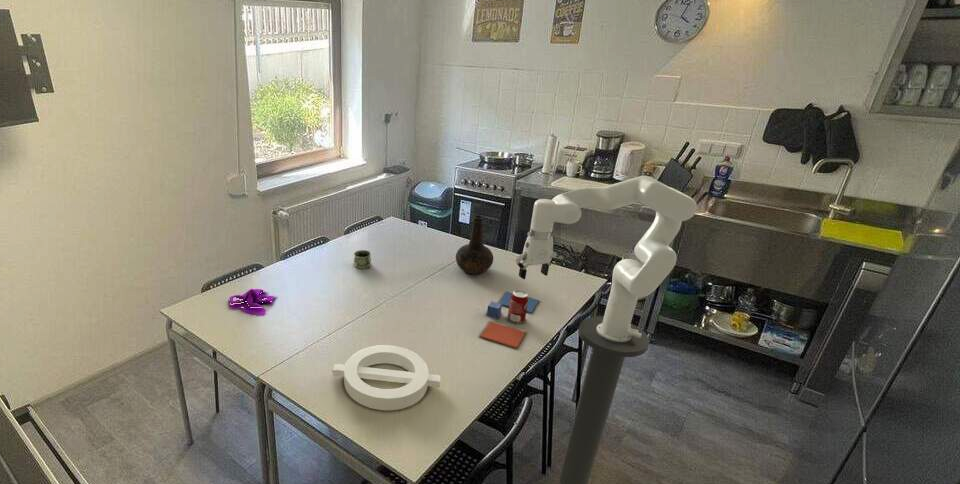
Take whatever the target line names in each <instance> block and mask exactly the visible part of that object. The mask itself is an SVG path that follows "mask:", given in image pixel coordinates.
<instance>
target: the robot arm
mask: <svg viewBox="0 0 960 484" xmlns="http://www.w3.org/2000/svg"><path fill="white" fill-rule="evenodd" d="M636 203H640V204H642V205H644V206H645V207H647V208H649V209H651V210H652V211H654V212H655V217H654V220H653V222H652V223H651V225H650V226H649V228H648V229H647V230H646V231H645V233H644V234H643V236H641V238H640V239H639V241H638V242H637V243H636V244H635V247H634V249H633V252H634V255H635V256H636V258H637V259H639V260H640V261H641V262H642V263H643V265H642V264H641V263H640V262H638V261H637V260H635V259H632V258H624V259H621V260H620V261H618V262H617V263H616V264H615V265H614V267H613V270H612V276H611V277H612V279H611V287H610V291H609V292H610V293H609V296H608V299H607V304H606V307H605V311H604V315H603V317H604V318H603V322H602V323H601V324H599V325H598V326H597V328H596V331H597V333H598V334H599V335H600V336H602V337H603V338H605V339H607V340H610V341H614V342H627V341H629V340H630V339H631V337H632V336H634V337H637V338H641V335H642V334H641V333H638V331H639V330H635V329H632V328H630V327H631V324H632V320H633V317H634V314H635V310H636V306H637V304H638V301H639V300H638V299H639V298H645V297H648V296H650V295H651V294H652V293H653V292H655V290H657V288H658V287H660V285H661V284H662V283H663V281H664V280H665V279H666V278H667V277H668V276H669V274H670V273H671V272H672V270H674V267H675V266H676V263H677V260H678V259H677V258H678V257H677V253H676V251H675V250H674V249H673V248H672V247H671V246H670V245H671V243H672V242H673V240H674V239H675V238H676V236H677V235H678V233H679V232H680V230H681V227H682V223H683V222H684V221H688V220H690V219H691V218H693V217H694V216H695V215H696V213H697V210H698V204H697V202H696V200H695V199H694V198H692V197H690V196H689V195H687V194H685V193H683V192H681V191H680V190H678V189H676V188H674V187H670V186H668V185H666V184H664V183H663V182H661V181H659V180H657V179H655V178H654V177H652V176H649V175H640V176H636V177H632V178H629V179H625V180H623V181H619V182H616V183H612V184H609V185H605V186H595V187H593V186H592V187H583V188H576V189H573V190H569V191H566V192H562V193H560V194H558V195H556V196H554V197H553V198H552V199H548V198H539V199H537V200H535V202H534V204H533V209H532V216H531V221H530V226H529V227H530V228H529V231H528V232H527V233H526V235H527V237H526V240H525V243H524V246H523V250H522V253H521V254H520V255H518V256H517V257H515V258H514V260H515V263H516V265H517V266H518V268H519V271H518V278H519V277H520V278H521V279H522V280H526V278H527V277H526V276H527V272H528V271H527V268H528V267H529V266H531V267H532V266H538V265H541V268H540V273H541V274H542V275H544V276H546V277H547V276H548V274H549V268H550V266H552V263H553V262H554V261H555V259H556V258H557V255H558V253H557V252H556V251H554V238H553V236H552V234H553V228H554V224H555V223H559V224H565V225H571V224H575V223H577V222H578V221H580V219H581V217H582V210H581V209H582V208H593V209H598V210H603V211H604V210H605V211H612V210H616V209H619V208H623V207H626V206H630V205H633V204H636Z"/></svg>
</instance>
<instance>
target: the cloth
mask: <svg viewBox="0 0 960 484" xmlns="http://www.w3.org/2000/svg"><path fill="white" fill-rule="evenodd" d="M263 291H264V290H263V289H261V288H250V289H249V290H248V291H247V292H244V293H243V294H236V295H230V296H229V297H228V299H229V298H230V303H231V304H233V303H241V302H244V303H241V304H234V305H230V304H229V303H228V305H229V308H230V309H231V310H241V311H242V312H243V313H245V314H247V315H256V316H265V314H266V312H267V309H266V308H264V307H263V306H272V304H273V303H274V301H275V300H276V296H274V295H268V294H267V292H266V291H264V292H263ZM261 292H262V293H261ZM260 293H261V294H260ZM234 297H236V298H239V299H243V300H241V301H240V300H236V301H233V298H234ZM274 297H275V298H274ZM264 298H267V299H265V300H262V299H264ZM273 299H274V300H273ZM245 301H247V302H245ZM270 301H272V302H270ZM262 302H263V303H262ZM247 303H248V304H247ZM248 305H249V306H248ZM241 307H244V308H241ZM250 307H262V308H250Z"/></svg>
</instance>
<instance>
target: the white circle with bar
mask: <svg viewBox="0 0 960 484" xmlns="http://www.w3.org/2000/svg"><path fill="white" fill-rule="evenodd" d="M378 364H389V365H395V366H399V367H402V368H403V369H405V370H406V371H405V370H398V369H397V370H396V369H388V368H380V367H379V368H377V367H371V366H374V365H378ZM332 376H333V377H341V378H343V384H344V389H345V391H346V393H347V394H348V396H349V397H350V398H351V399H352V400H354V401H355V402H357V403H358V404H360V405H362V406H364V407H366V408H369V409H373V410H377V411H398V410H403V409H406V408H409V407H411V406H413V405H415V404H417V403H418V402H419V401H421V399H423V398H424V397H425V395H426V393H427V390H428V388H429V387H431V388H433V387H434V388H441V374H433V373H429V367H428V365H427V363H426V361H425V360H424V359H423V358H422V357H421V356H420V355H419V354H417V353H416V352H414V351H412V350H410V349H407V348H405V347H402V346H397V345H390V344H379V345H371V346H366V347H365V348H362V349H359V350H357V351H356V352H354V353H353V354H352V355H350V357H348V359H347V360H346V362H345V363H344V364H343V363H334V364H333V367H332ZM362 379H364V380H373V381H374V380H375V381H383V382H391V383H401V384H405V385H403V386H400V387H396V388H380V387H375V386H372V385H369V384H368V383H366V382H364V381H363V380H362Z"/></svg>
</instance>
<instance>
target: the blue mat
mask: <svg viewBox="0 0 960 484" xmlns="http://www.w3.org/2000/svg"><path fill="white" fill-rule="evenodd" d="M512 294H513V292H509V291H506V292H505V294H503V296H502V298H501V299H500V301H499V302H498V303H500V304H502V307H506V308H509V305H510V299H511V295H512ZM539 302H540V299H537V298H533V297H529V296H528V305H527V311H526V313H528V314H532V313H533V312H534V310H535V308H536V307H537V305H538V303H539Z"/></svg>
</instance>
